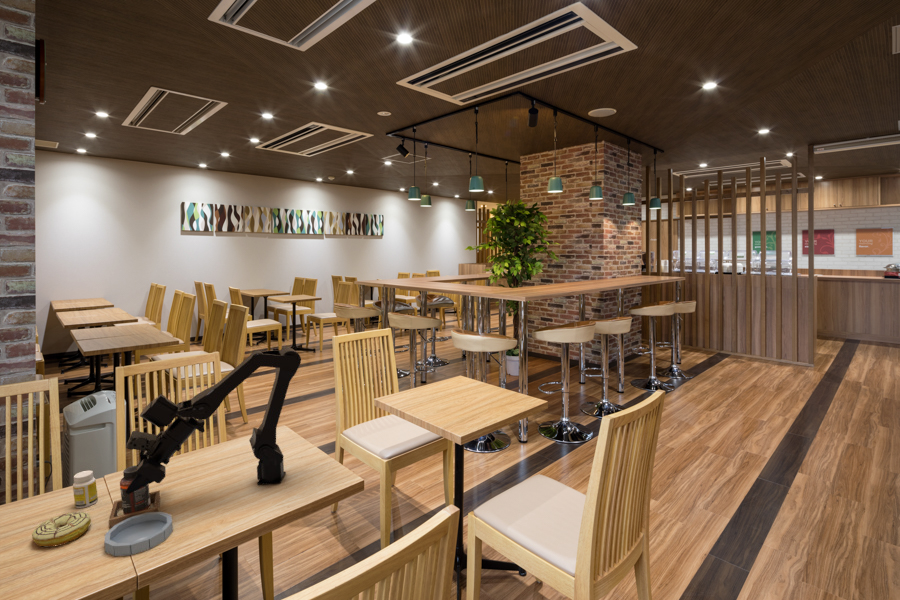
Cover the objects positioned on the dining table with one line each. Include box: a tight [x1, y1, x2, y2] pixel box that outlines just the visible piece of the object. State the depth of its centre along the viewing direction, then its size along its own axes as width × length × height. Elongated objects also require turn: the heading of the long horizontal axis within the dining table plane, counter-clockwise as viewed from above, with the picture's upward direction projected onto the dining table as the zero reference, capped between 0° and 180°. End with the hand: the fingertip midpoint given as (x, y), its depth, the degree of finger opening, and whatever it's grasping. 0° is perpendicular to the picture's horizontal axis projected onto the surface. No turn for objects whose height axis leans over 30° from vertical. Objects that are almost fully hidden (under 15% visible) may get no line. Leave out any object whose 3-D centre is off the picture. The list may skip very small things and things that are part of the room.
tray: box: [108, 490, 161, 530], centre depth 116 cm, size 10×10×2 cm
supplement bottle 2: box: [119, 464, 151, 515], centre depth 116 cm, size 6×6×11 cm
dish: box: [103, 511, 174, 557], centre depth 106 cm, size 13×13×2 cm
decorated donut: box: [31, 511, 92, 547], centre depth 107 cm, size 10×11×4 cm
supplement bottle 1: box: [72, 470, 99, 509], centre depth 120 cm, size 5×5×8 cm
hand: (128, 487), depth 115 cm, fingers closed on supplement bottle 2, 6 cm apart
